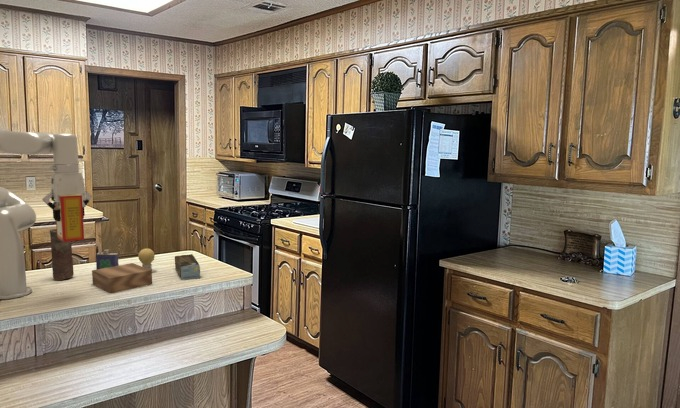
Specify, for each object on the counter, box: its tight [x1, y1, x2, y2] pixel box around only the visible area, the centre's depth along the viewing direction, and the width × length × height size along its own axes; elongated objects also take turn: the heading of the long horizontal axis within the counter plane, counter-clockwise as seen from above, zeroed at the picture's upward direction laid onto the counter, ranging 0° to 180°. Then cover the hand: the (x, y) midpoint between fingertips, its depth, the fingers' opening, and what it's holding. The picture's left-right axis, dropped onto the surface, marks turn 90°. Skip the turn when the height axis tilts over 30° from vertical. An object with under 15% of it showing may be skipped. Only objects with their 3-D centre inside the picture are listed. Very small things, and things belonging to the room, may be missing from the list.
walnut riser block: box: [91, 262, 153, 294], centre depth 193 cm, size 16×16×6 cm
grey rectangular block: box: [174, 253, 201, 281], centre depth 209 cm, size 8×19×7 cm, turn 25°
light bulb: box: [137, 248, 155, 270], centre depth 211 cm, size 6×6×10 cm
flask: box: [95, 248, 120, 270], centre depth 206 cm, size 9×3×11 cm, turn 88°
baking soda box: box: [55, 194, 85, 242], centre depth 175 cm, size 10×6×16 cm
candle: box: [49, 228, 75, 281], centre depth 199 cm, size 8×7×20 cm
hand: (69, 219), depth 176 cm, fingers closed on baking soda box, 7 cm apart
